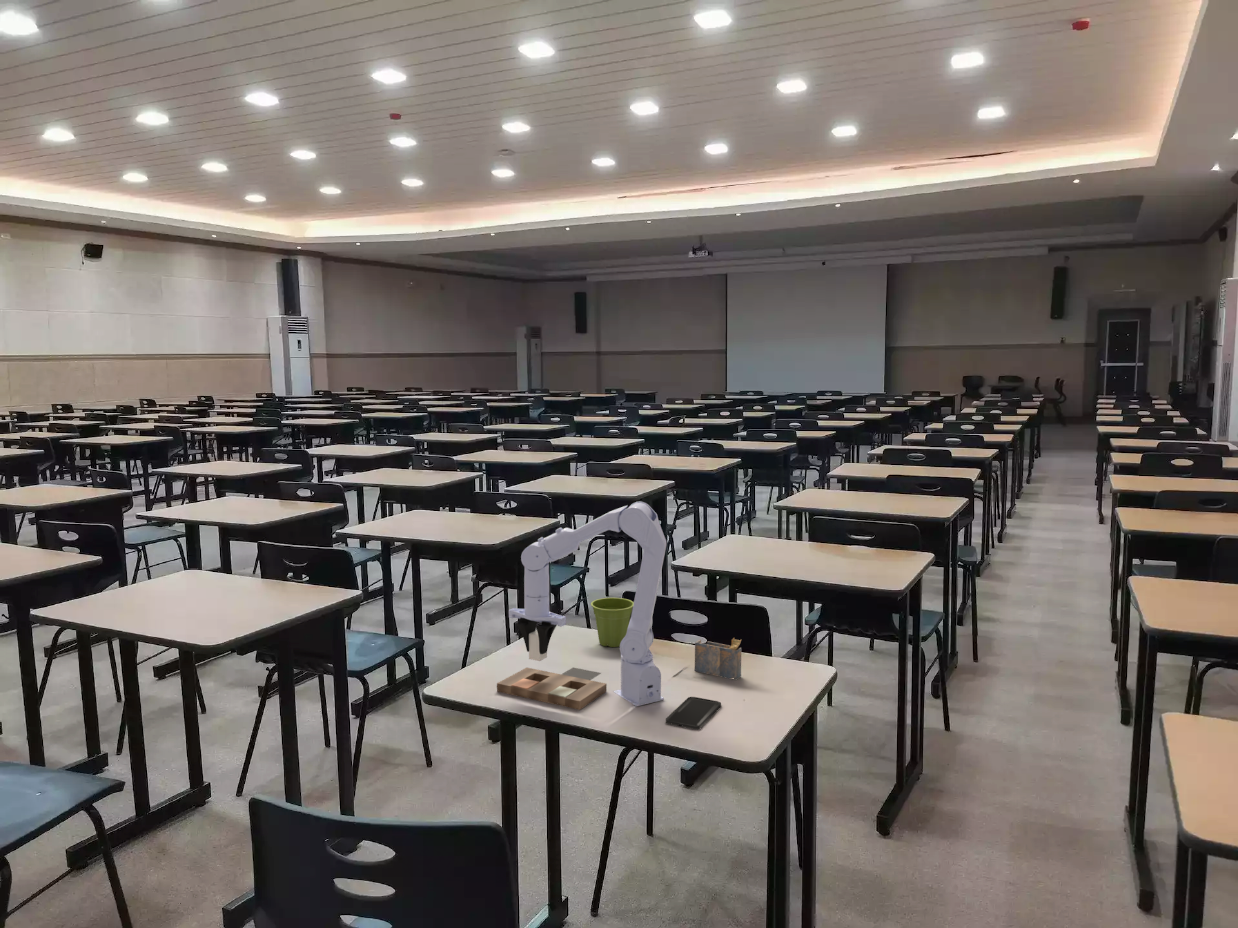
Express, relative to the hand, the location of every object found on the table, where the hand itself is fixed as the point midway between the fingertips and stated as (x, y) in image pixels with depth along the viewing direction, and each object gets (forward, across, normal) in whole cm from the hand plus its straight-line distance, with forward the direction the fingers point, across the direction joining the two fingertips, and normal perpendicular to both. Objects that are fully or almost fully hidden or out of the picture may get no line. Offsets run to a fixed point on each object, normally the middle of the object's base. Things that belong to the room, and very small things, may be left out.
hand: (537, 651), depth 195 cm
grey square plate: (+9, -5, -10) cm, 15 cm away
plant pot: (+9, 0, -37) cm, 38 cm away
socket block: (+9, -5, +2) cm, 10 cm away
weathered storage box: (+9, -33, -30) cm, 46 cm away
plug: (+2, 0, 0) cm, 2 cm away
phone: (+9, -38, -4) cm, 39 cm away
